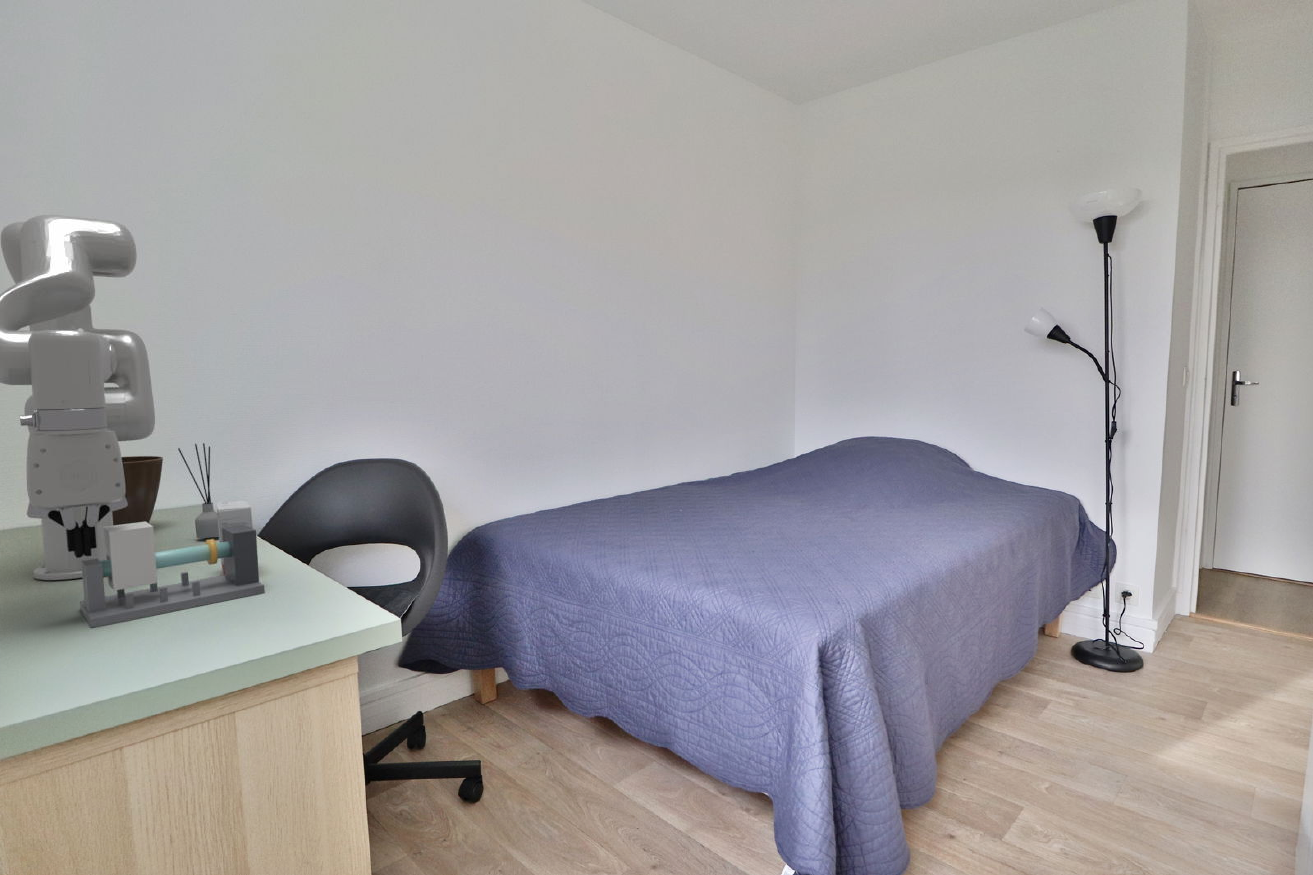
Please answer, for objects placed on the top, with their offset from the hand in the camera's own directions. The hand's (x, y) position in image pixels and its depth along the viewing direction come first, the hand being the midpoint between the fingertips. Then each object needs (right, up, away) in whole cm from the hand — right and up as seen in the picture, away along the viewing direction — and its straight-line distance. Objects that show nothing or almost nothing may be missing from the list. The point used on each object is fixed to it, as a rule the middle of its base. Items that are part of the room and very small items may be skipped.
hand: (82, 555), depth 98 cm
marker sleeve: (+4, -5, +4) cm, 7 cm away
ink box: (+8, -7, +23) cm, 25 cm away
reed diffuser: (-14, -5, +49) cm, 51 cm away
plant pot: (-36, -5, +56) cm, 67 cm away
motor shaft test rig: (+7, -8, +8) cm, 14 cm away
